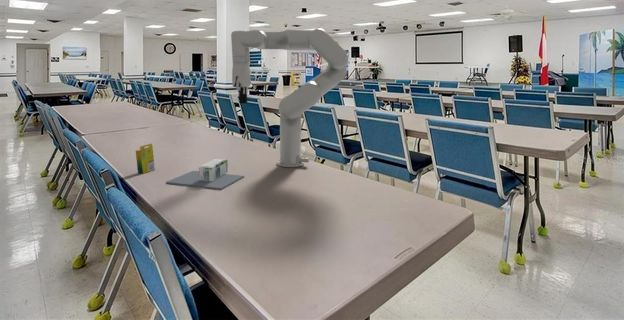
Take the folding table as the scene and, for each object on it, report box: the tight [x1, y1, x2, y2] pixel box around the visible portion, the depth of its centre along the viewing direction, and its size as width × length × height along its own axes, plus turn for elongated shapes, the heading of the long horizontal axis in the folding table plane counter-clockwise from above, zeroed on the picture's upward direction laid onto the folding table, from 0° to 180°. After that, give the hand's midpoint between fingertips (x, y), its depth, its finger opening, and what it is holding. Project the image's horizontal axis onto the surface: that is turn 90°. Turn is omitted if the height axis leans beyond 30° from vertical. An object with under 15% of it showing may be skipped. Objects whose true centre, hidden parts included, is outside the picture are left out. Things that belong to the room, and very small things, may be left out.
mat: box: [165, 170, 245, 191], centre depth 158 cm, size 24×18×1 cm
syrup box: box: [198, 158, 229, 181], centre depth 161 cm, size 6×6×14 cm
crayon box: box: [135, 143, 156, 175], centre depth 169 cm, size 7×3×12 cm, turn 160°
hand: (243, 102), depth 178 cm, fingers closed
